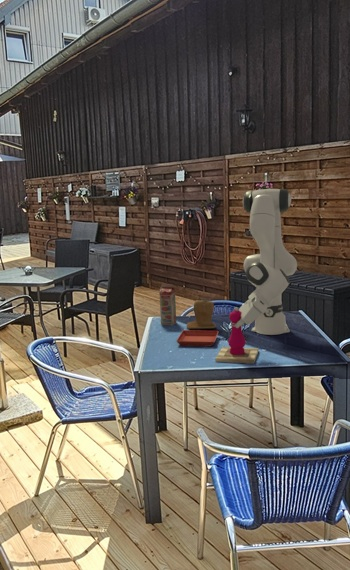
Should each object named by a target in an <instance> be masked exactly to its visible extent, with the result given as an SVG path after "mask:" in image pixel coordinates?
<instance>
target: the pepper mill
mask: <svg viewBox="0 0 350 570" xmlns="http://www.w3.org/2000/svg"><path fill="white" fill-rule="evenodd" d="M241 313H242V312H241V311H239V307H237V306H235V307H234V309H233V311H231V312H230V314H229V316H228V318H229V320H230V326H231V332H230V336H229V338H228V343H227V344H228V346H229V347H231V348H230V353H231V354H233V355H241V354H244V348H245V346H246V339H245V336H244V333H243V330H242V326H243V325H244V324H242V325H241V326H240V327H239V328H236V327H235V324H236V323H237V322H238V321H239V320H240V319H241Z"/></svg>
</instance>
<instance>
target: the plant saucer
mask: <svg viewBox="0 0 350 570" xmlns="http://www.w3.org/2000/svg"><path fill="white" fill-rule="evenodd" d="M219 332H220V331H218V330H195V329H187V330H185V329H184V330H182V331H181V332H180V334H179V336H178V337H177V339H176V342H177V344H178V345H179V346H188V347H189V346H190V347H212V346H214V344H215V342H216V340H217V338H218V337H217V336H218V334H219Z"/></svg>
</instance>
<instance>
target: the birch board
mask: <svg viewBox="0 0 350 570" xmlns="http://www.w3.org/2000/svg"><path fill="white" fill-rule="evenodd" d="M230 348H231V347H230V346H229V347H228V346H222V347H221V349H220V350H219V352H218V353H217V355H216V356H215V363H216V362H217V363H218V362H219V363H234V364H236V363H237V364H240V363H241V364H253V363H254V364H255V362H256V359H257V357H258V354H259V348H256V347H255V348H254V347H243V348H244V354H241V355H233V354H231V353H230Z"/></svg>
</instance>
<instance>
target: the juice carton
mask: <svg viewBox="0 0 350 570" xmlns="http://www.w3.org/2000/svg"><path fill="white" fill-rule="evenodd" d="M158 292H159V308H160V309H159V311H160V312H159V313H160V325H161V326H174V325H175V324H176V323H177V307H176V306H177V305H176V304H177V303H176V289H175V287H174V285H173V284H171V283H167V284H166V283H162V284H160V289H159V291H158Z"/></svg>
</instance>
